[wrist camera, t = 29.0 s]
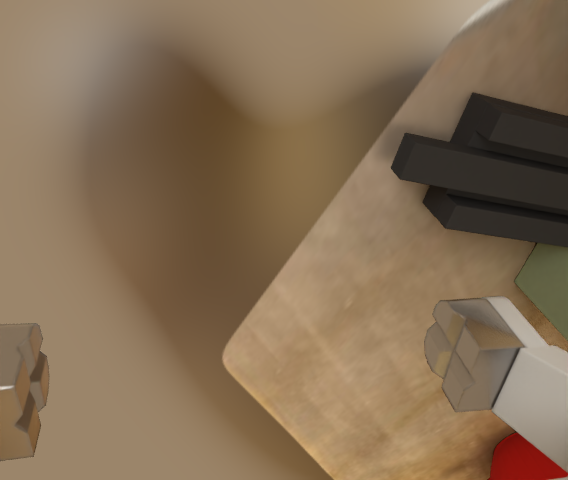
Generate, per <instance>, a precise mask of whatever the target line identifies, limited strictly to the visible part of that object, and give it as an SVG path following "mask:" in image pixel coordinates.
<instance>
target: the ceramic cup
mask: <svg viewBox="0 0 568 480" xmlns="http://www.w3.org/2000/svg"><path fill="white" fill-rule="evenodd" d="M493 454H494V456H493V460H492V465H491V472H490V478H489V479H487V480H550V479H557V478H564V477H567V476H568V473H567V472H566V471H565V470H564V469H562V468H561V467H560V466H559V465H557V464H556V463H555V462H554V461H552V460H551V459H550V458H549V457H547V456H546V455H545V454H544V453H542V452H541V451H540V450H539V449H537V448H536V447H535V446H534V445H533V444H531V443H530V442H529V441H528V440H526V439H525V438H524V437H523V436H521V435H520V434H519V433H518V432H517V433H514V434H512V435H510V436H508V437H506V438H505V439H503V440H502V441H501V442H500V443H499V444H498V445H497V446H496V448H495V450H494V453H493Z"/></svg>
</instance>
